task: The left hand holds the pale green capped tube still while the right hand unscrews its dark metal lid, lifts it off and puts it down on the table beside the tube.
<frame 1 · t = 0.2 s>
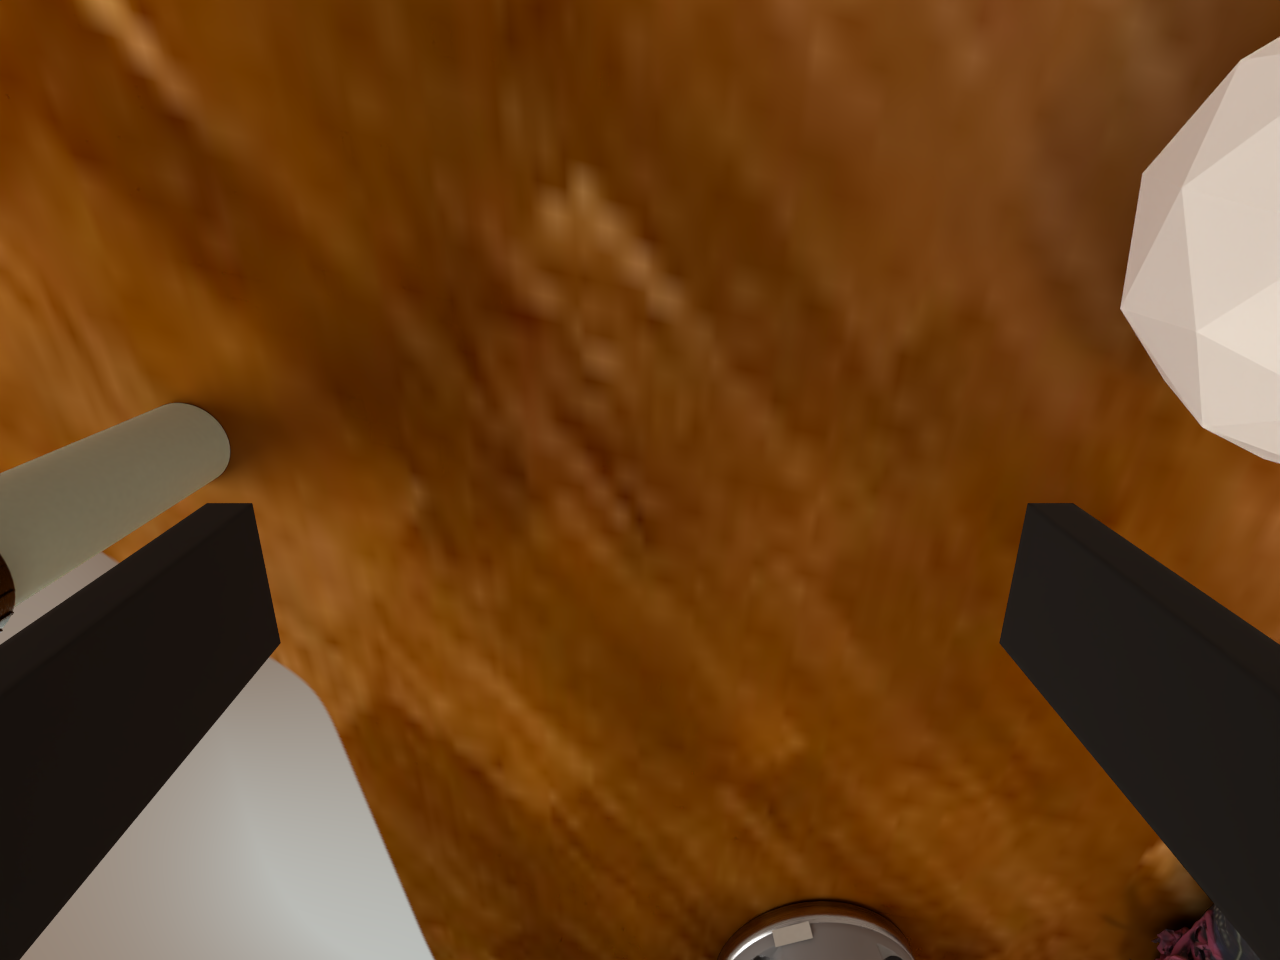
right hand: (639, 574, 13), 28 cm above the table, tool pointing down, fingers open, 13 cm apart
pale green capped tube: (187, 443, 41), on the table
athletic shoe: (1186, 932, 55), on the table
sphere: (1234, 230, 37), on the table
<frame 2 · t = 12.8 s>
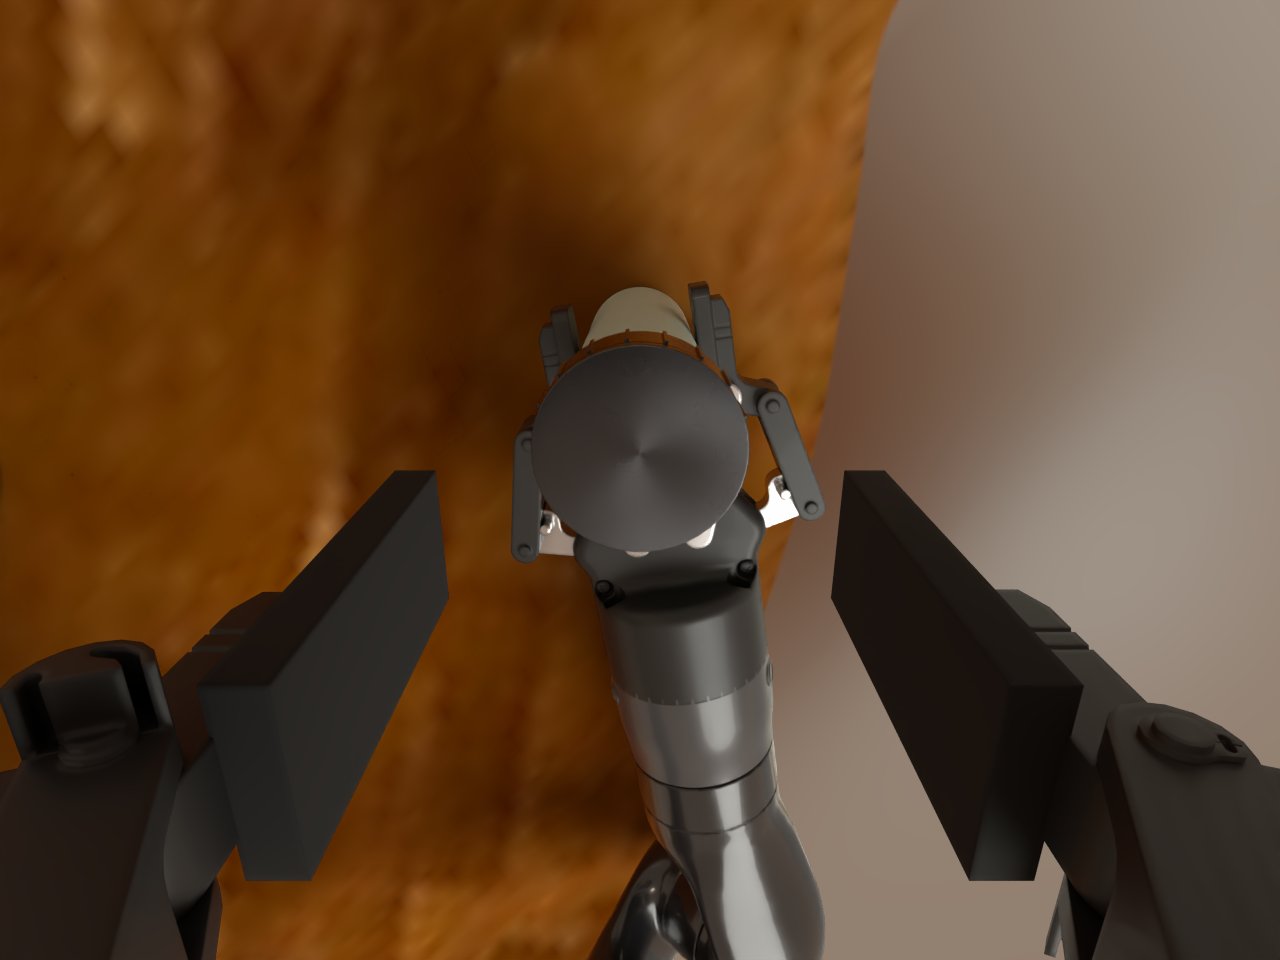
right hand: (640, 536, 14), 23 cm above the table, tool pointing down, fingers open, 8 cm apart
left hand: (630, 297, 29), fingers closed on pale green capped tube, 4 cm apart
pale green capped tube: (640, 337, 35), on the table, touching left hand
lid: (640, 449, 19), point 18 cm above the table, screwed on, not yet turned
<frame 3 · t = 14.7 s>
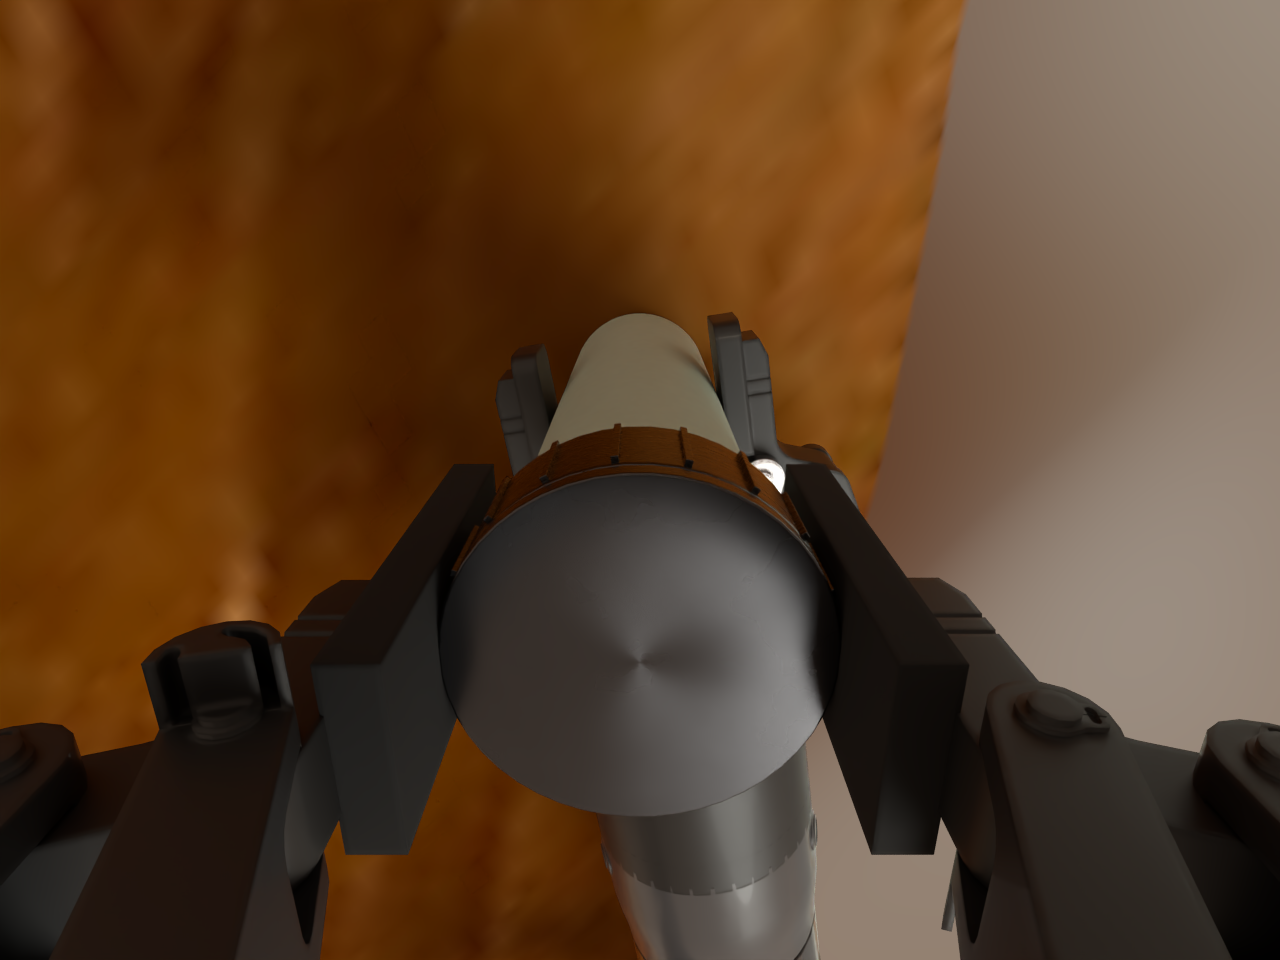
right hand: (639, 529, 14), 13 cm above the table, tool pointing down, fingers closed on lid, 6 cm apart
pale green capped tube: (639, 378, 27), on the table, touching left hand
lid: (639, 648, 10), point 18 cm above the table, screwed on, not yet turned, touching right hand
when the right hand's fingers open (14 cm above the table, at t = 15.9 s): lid stays where it is, point 18 cm above the table.
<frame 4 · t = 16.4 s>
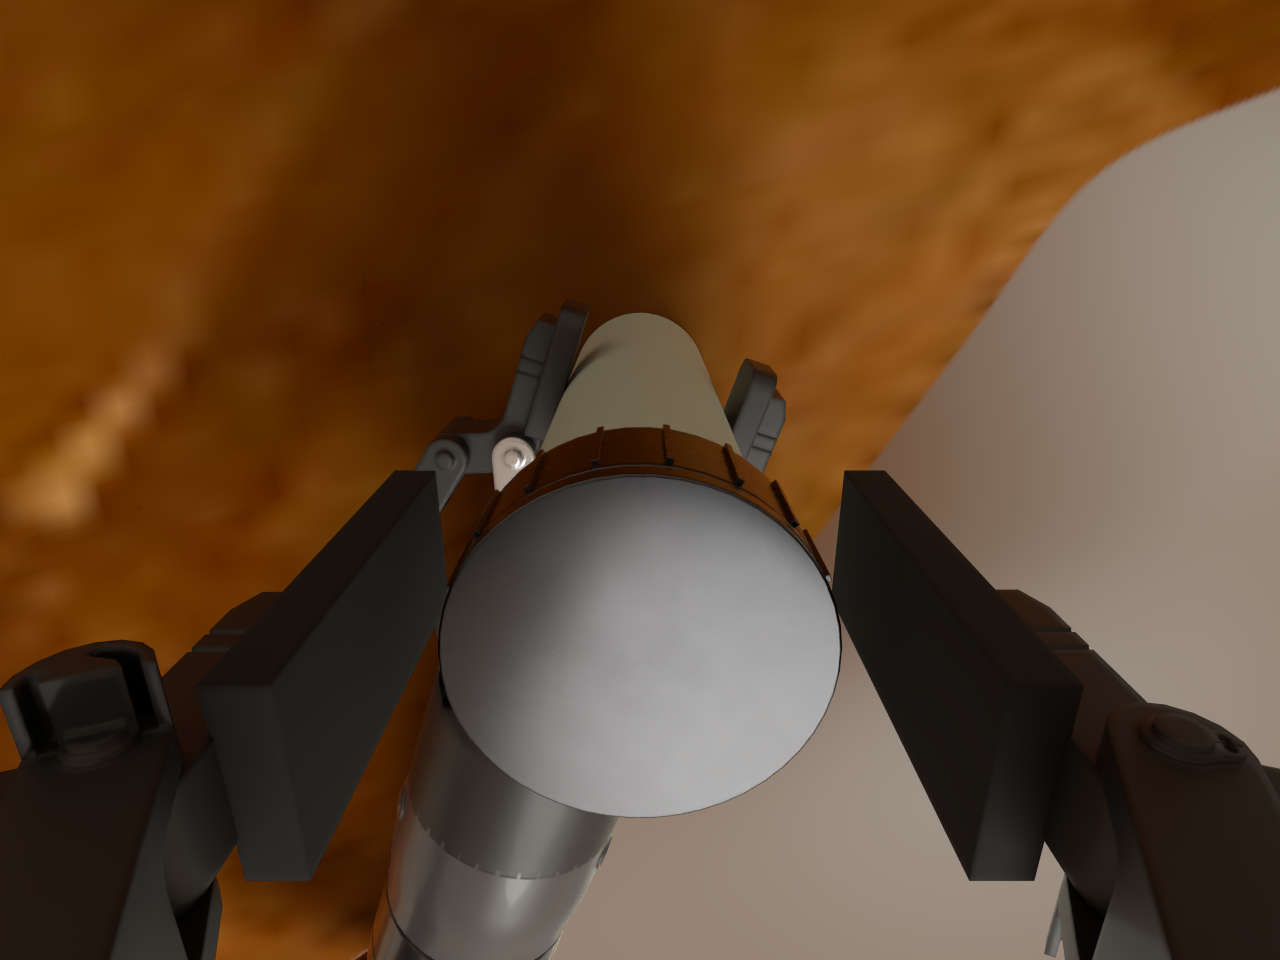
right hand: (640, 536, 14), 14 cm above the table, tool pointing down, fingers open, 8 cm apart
pale green capped tube: (639, 377, 27), on the table, touching left hand
lid: (639, 649, 10), point 18 cm above the table, turned 73° so far, risen 0.2 cm, still on its thread
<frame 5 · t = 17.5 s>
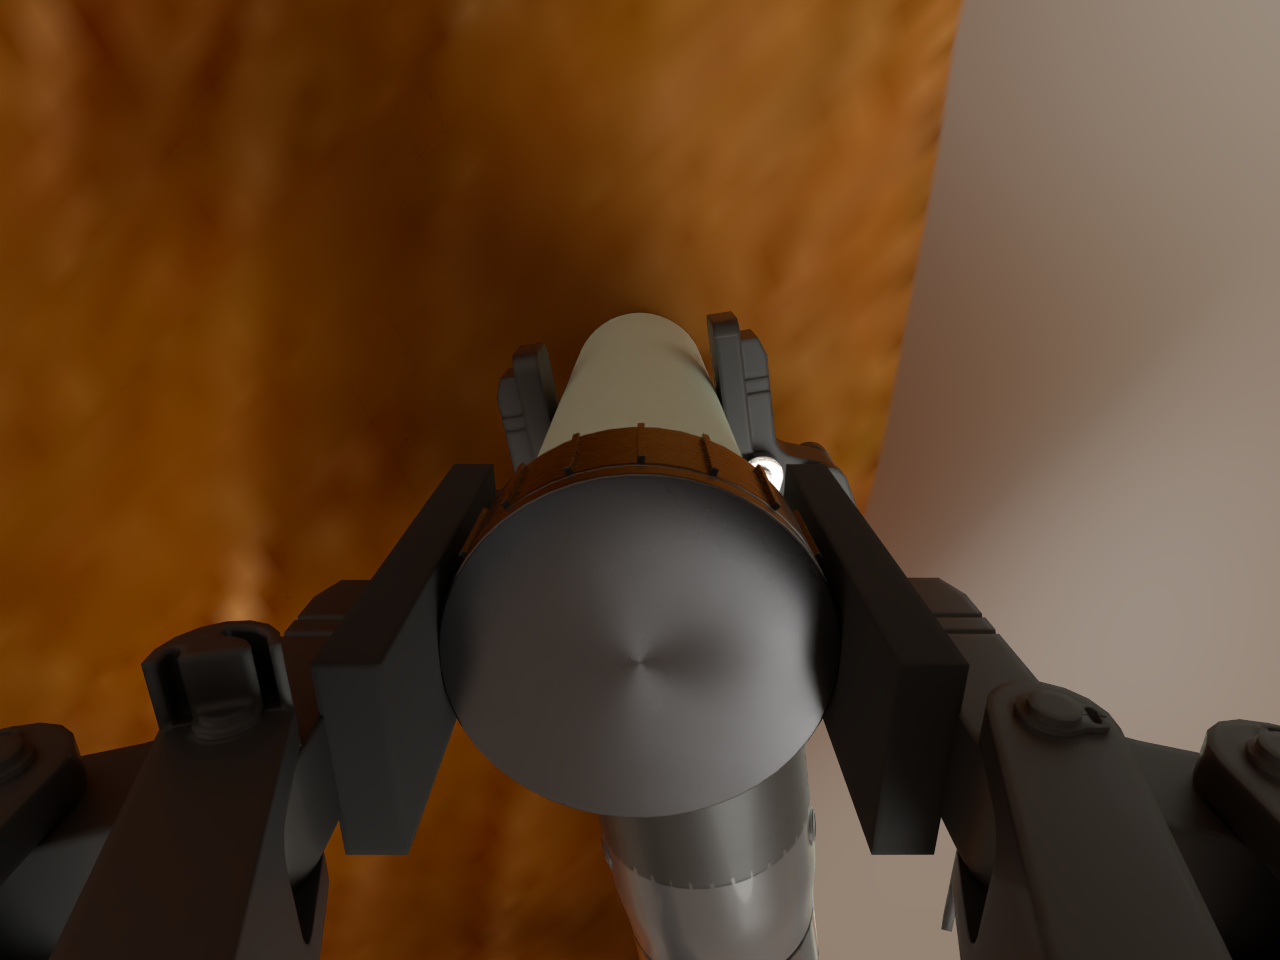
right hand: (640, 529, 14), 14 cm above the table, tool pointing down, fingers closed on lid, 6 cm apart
pale green capped tube: (639, 377, 27), on the table, touching left hand
lid: (639, 648, 10), point 18 cm above the table, turned 73° so far, risen 0.2 cm, still on its thread, touching right hand
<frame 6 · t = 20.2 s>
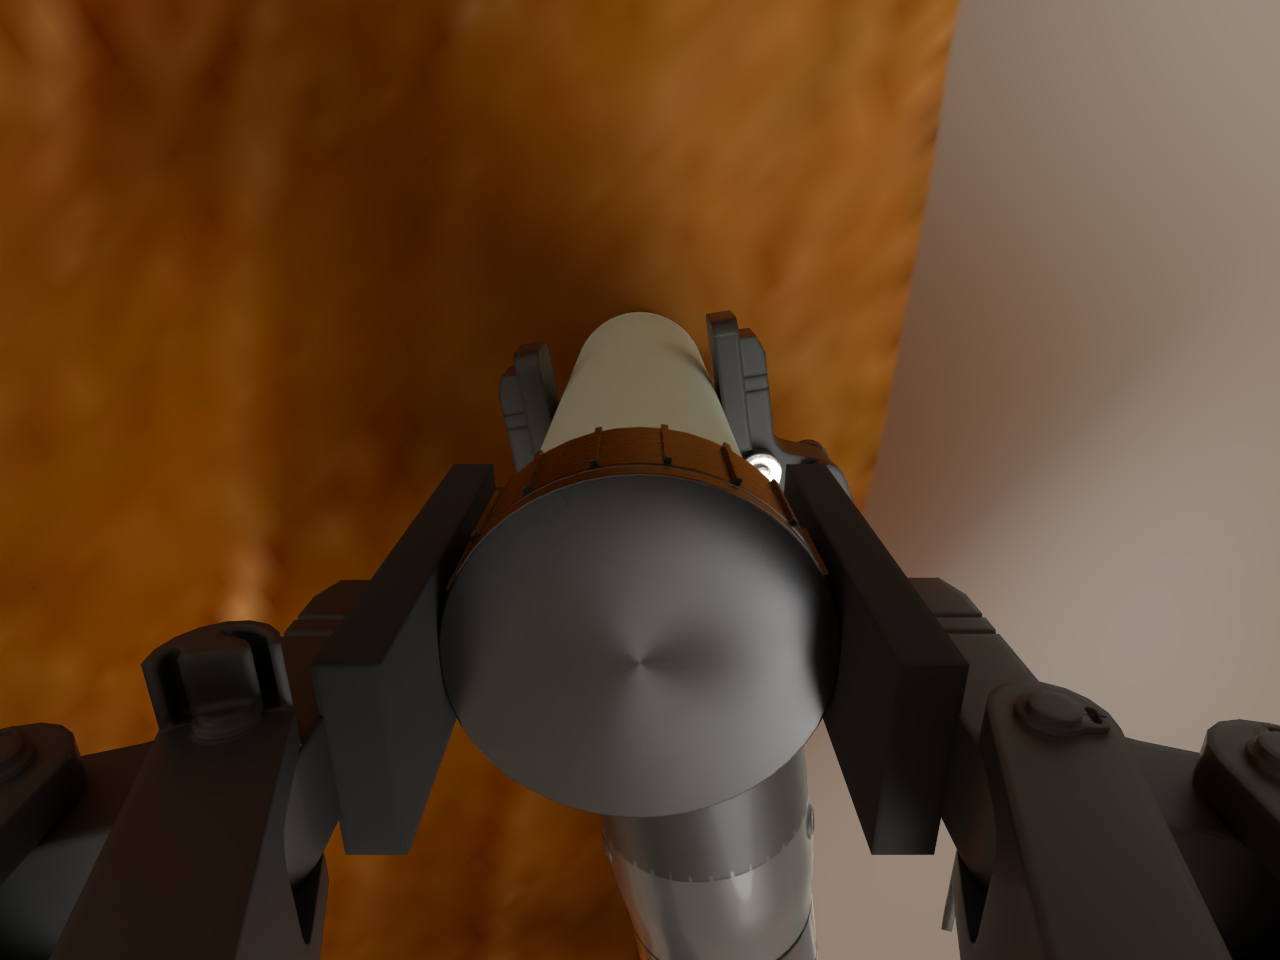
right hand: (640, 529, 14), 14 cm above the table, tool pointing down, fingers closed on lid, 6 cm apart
pale green capped tube: (639, 376, 27), on the table, touching left hand
lid: (639, 648, 10), point 18 cm above the table, turned 146° so far, risen 0.5 cm, still on its thread, touching right hand
when the right hand's fingers open (0 cm above the table, at t = 26.8 s): lid drops 2 cm, point 2 cm above the table.
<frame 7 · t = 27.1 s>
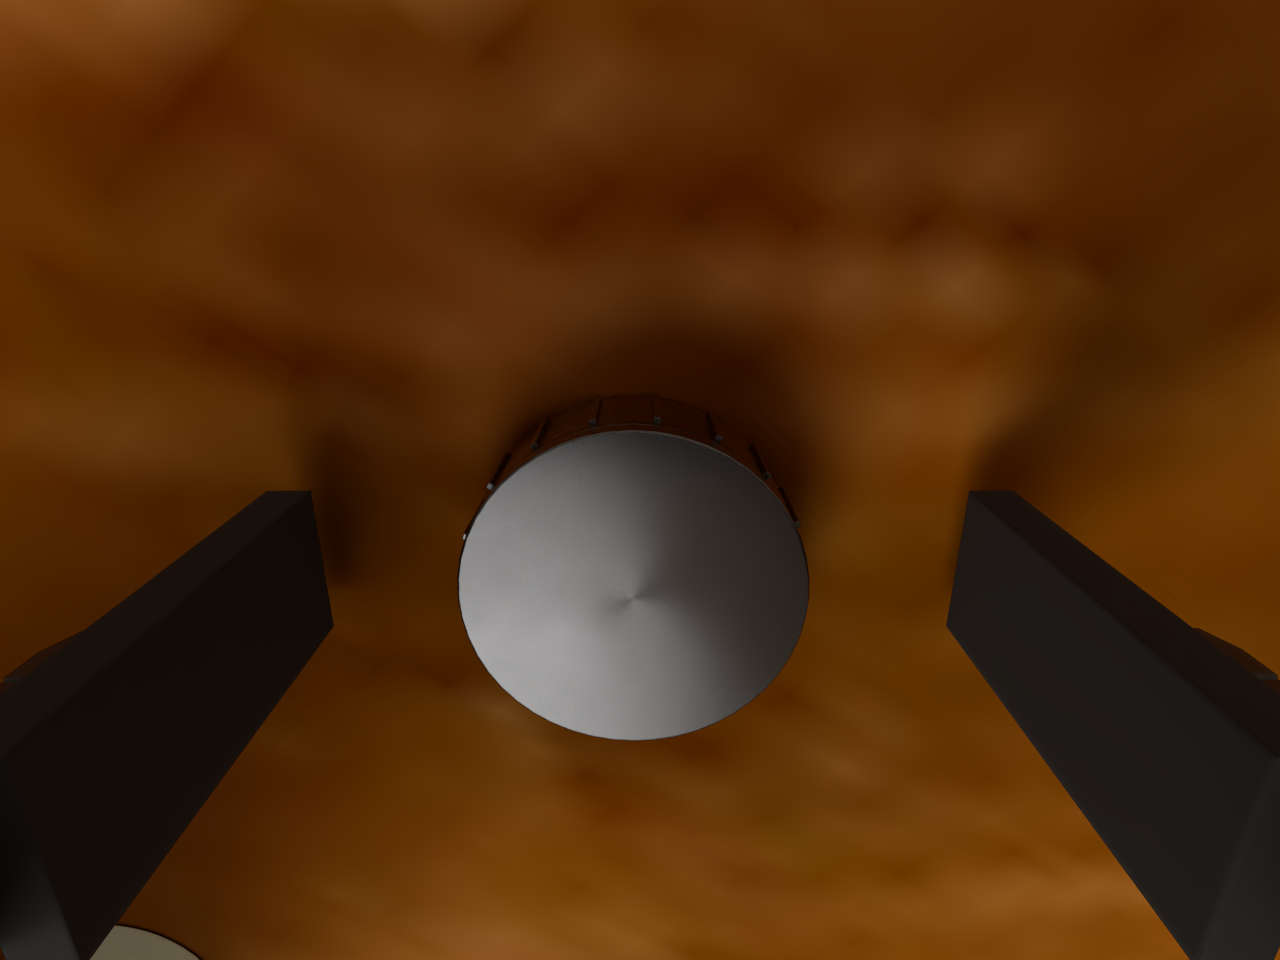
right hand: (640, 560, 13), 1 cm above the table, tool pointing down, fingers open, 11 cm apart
lid: (633, 588, 12), point 2 cm above the table, off its thread
when the left hand's fingers open (6 cm above the table, at t = 27.9 s): pale green capped tube stays where it is, on the table.
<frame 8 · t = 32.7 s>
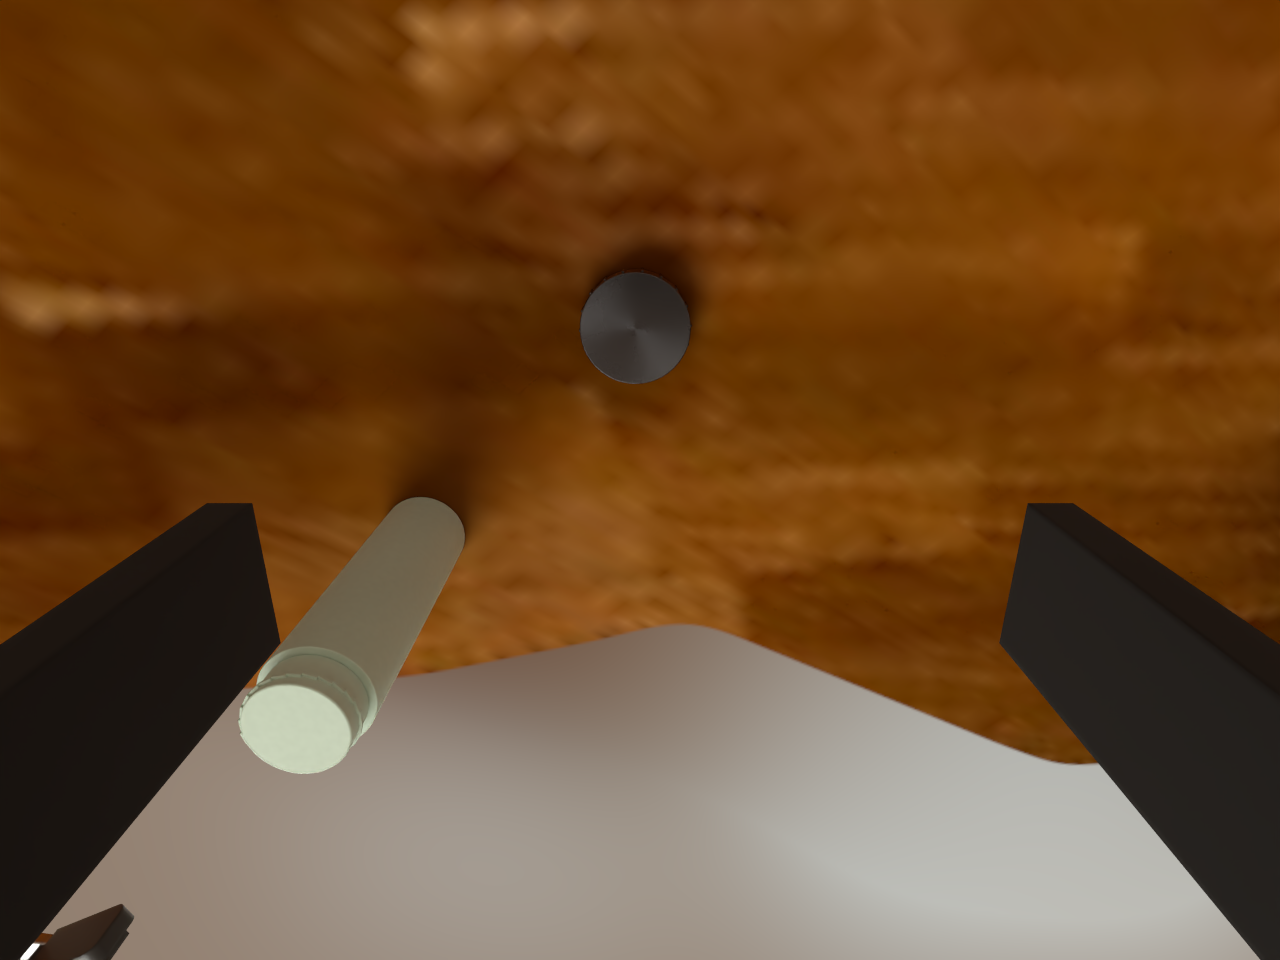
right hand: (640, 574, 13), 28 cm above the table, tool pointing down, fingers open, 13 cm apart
pale green capped tube: (424, 533, 43), on the table
lid: (635, 328, 37), point 2 cm above the table, off its thread
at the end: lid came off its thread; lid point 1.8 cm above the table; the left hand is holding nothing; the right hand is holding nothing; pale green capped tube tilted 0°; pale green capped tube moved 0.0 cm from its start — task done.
